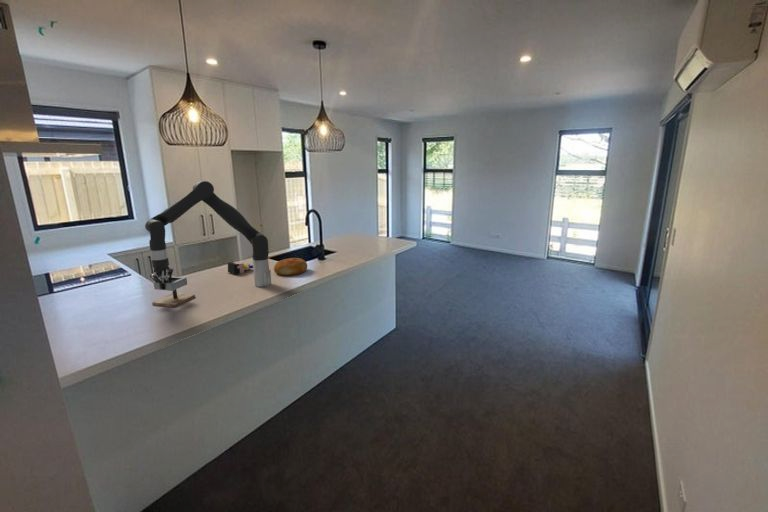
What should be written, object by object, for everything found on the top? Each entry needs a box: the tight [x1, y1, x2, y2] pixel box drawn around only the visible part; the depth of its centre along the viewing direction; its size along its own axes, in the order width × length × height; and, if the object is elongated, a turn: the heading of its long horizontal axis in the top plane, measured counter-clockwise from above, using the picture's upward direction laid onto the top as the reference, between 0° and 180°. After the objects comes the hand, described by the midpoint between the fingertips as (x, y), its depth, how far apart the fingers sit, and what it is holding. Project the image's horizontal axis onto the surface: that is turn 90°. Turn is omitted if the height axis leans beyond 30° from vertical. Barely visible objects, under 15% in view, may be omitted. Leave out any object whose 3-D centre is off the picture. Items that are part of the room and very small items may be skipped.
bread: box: [273, 257, 308, 276], centre depth 246 cm, size 23×23×10 cm
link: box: [153, 275, 188, 292], centre depth 188 cm, size 11×11×4 cm
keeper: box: [151, 281, 196, 308], centre depth 190 cm, size 14×15×12 cm
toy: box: [227, 261, 253, 275], centre depth 245 cm, size 12×7×15 cm
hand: (164, 288), depth 184 cm, fingers closed on link, 1 cm apart
